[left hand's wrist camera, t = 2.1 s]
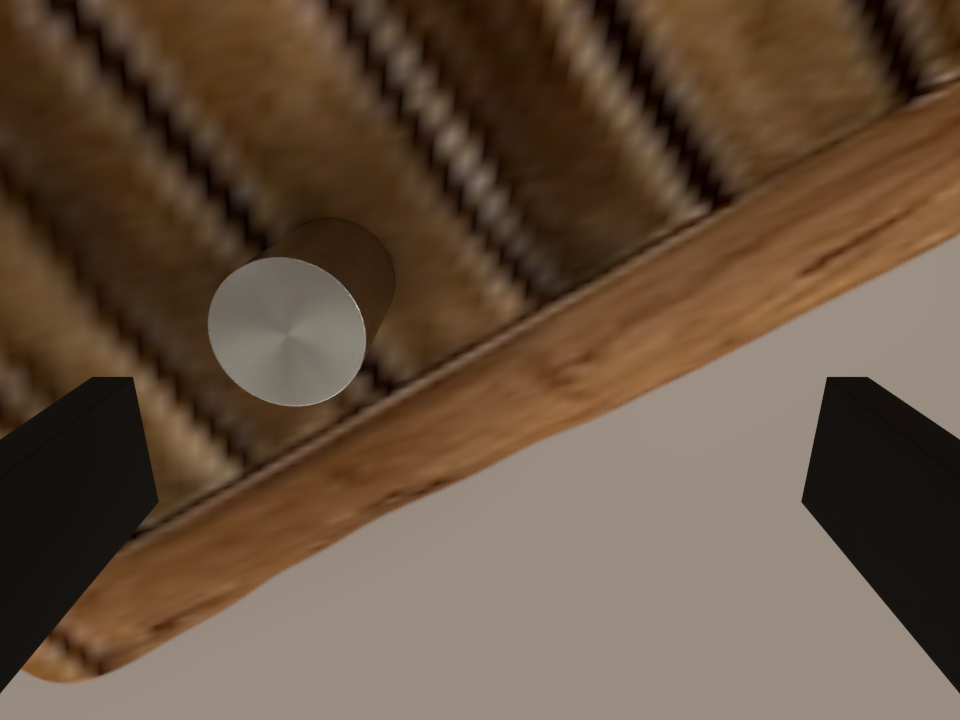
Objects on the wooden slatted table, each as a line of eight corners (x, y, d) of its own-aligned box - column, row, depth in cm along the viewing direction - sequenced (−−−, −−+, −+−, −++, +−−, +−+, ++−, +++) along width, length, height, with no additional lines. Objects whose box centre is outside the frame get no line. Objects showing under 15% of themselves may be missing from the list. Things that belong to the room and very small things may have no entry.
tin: (271, 323, 29) (203, 392, 22) (280, 207, 28) (210, 242, 20) (386, 344, 30) (356, 419, 23) (403, 231, 28) (376, 274, 21)
